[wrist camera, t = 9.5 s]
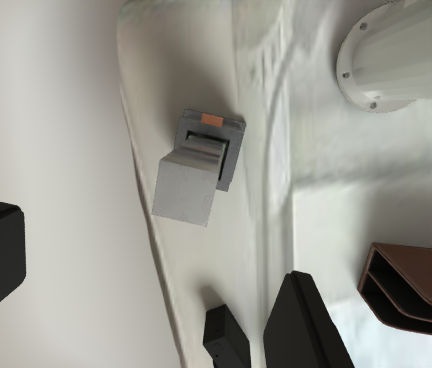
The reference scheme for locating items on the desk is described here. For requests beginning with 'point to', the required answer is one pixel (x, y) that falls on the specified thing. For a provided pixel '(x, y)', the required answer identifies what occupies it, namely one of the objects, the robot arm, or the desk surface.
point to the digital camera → (225, 340)
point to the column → (188, 180)
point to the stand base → (218, 131)
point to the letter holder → (399, 286)
